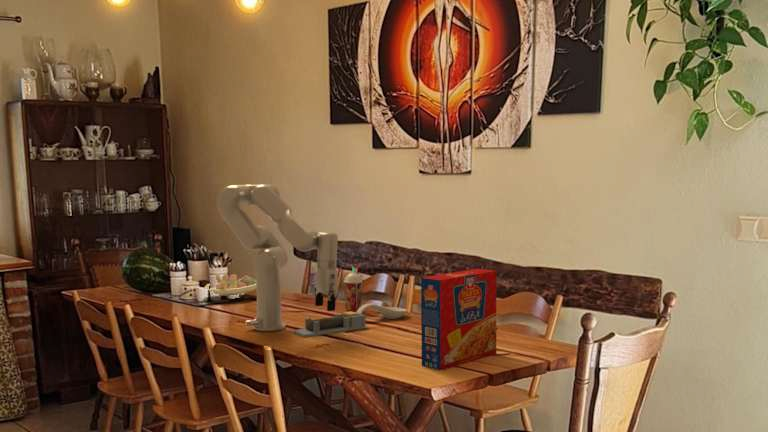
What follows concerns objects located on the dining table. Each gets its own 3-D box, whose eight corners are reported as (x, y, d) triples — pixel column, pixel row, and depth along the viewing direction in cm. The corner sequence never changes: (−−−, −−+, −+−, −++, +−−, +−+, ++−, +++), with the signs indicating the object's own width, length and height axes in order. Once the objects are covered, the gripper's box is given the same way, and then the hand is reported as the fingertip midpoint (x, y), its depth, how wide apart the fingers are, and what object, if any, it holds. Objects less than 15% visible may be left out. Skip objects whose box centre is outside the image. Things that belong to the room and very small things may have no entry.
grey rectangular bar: (312, 332, 258) (312, 319, 258) (306, 329, 262) (306, 317, 262) (357, 325, 269) (357, 313, 269) (351, 323, 273) (351, 311, 273)
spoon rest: (397, 314, 297) (397, 297, 297) (412, 318, 287) (412, 301, 287) (349, 320, 284) (349, 303, 284) (364, 325, 274) (363, 307, 274)
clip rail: (304, 337, 254) (303, 324, 254) (293, 332, 261) (293, 320, 261) (365, 328, 269) (365, 315, 268) (354, 324, 276) (353, 311, 276)
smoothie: (366, 312, 300) (366, 266, 299) (350, 314, 296) (349, 268, 295) (356, 309, 307) (355, 265, 306) (340, 311, 303) (339, 266, 301)
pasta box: (440, 370, 209) (440, 280, 207) (421, 365, 215) (421, 277, 213) (496, 353, 228) (496, 270, 227) (477, 349, 234) (477, 268, 232)
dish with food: (203, 305, 319) (202, 275, 319) (202, 295, 346) (202, 267, 346) (263, 302, 327) (263, 272, 326) (258, 292, 354) (257, 265, 353)
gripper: (346, 267, 258) (344, 311, 259) (324, 260, 272) (322, 303, 274) (329, 268, 254) (327, 313, 255) (307, 261, 268) (306, 304, 270)
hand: (324, 308), depth 264 cm, fingers open, 9 cm apart
